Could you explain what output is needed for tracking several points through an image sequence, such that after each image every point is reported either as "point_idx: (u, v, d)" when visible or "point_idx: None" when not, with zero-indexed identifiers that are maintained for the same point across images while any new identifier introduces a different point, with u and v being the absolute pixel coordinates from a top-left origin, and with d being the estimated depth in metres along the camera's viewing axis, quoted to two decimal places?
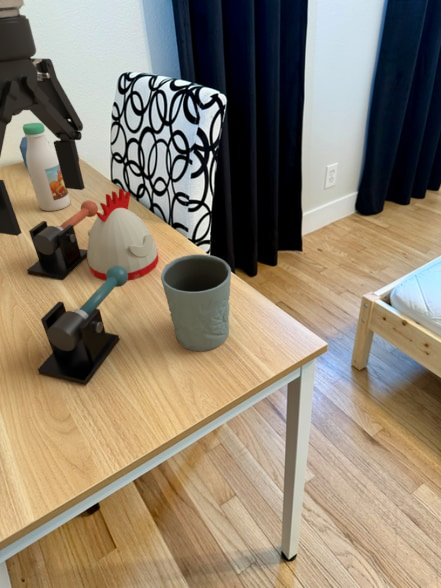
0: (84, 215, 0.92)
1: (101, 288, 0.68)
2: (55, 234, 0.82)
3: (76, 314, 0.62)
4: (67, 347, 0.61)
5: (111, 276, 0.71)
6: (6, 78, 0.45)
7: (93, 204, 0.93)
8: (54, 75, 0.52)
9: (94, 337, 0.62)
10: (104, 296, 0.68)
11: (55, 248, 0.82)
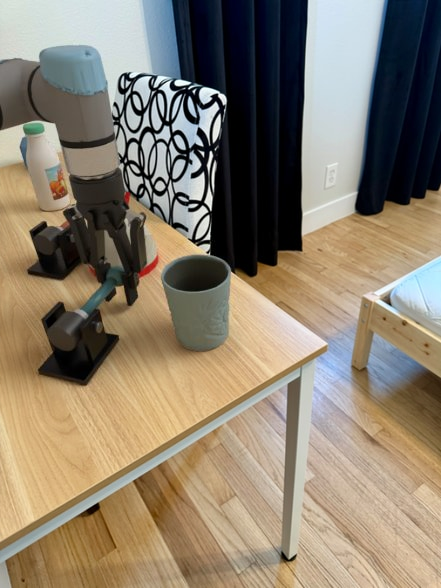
0: None
1: (101, 288, 0.68)
2: (55, 234, 0.82)
3: (76, 314, 0.62)
4: (67, 347, 0.61)
5: (111, 276, 0.71)
6: None
7: None
8: None
9: (94, 337, 0.62)
10: (104, 296, 0.68)
11: (55, 248, 0.82)
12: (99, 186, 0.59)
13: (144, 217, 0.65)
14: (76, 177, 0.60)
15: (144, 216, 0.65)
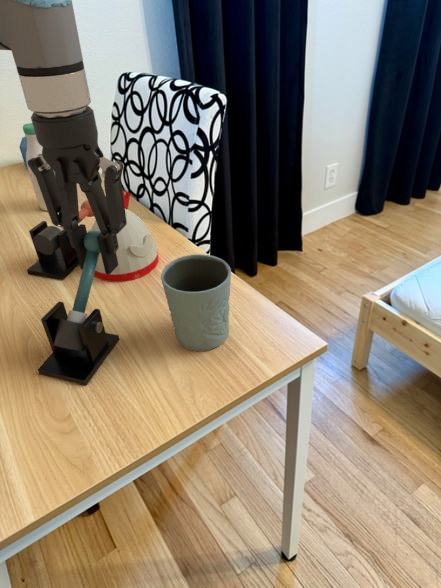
0: (84, 215, 0.92)
1: (85, 271, 0.63)
2: (55, 234, 0.82)
3: (72, 324, 0.61)
4: None
5: (90, 249, 0.64)
6: None
7: None
8: None
9: (94, 337, 0.62)
10: (91, 278, 0.64)
11: (55, 248, 0.82)
12: (65, 126, 0.51)
13: (121, 166, 0.56)
14: (38, 115, 0.51)
15: (121, 165, 0.56)
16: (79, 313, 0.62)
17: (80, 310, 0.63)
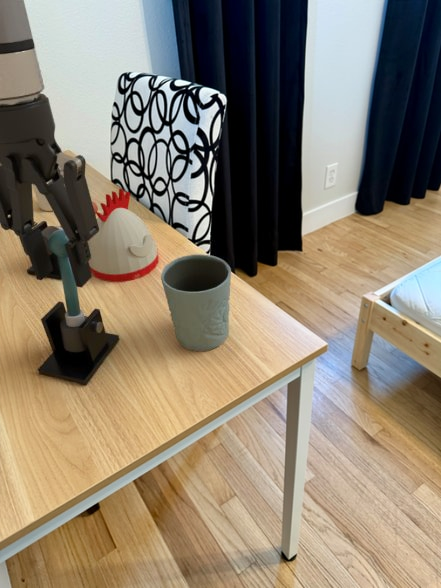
0: None
1: (64, 278, 0.59)
2: None
3: (73, 332, 0.61)
4: None
5: (60, 256, 0.57)
6: None
7: (93, 204, 0.93)
8: None
9: (94, 337, 0.62)
10: (74, 282, 0.60)
11: None
12: (11, 116, 0.43)
13: (82, 161, 0.48)
14: None
15: (82, 160, 0.48)
16: (75, 318, 0.62)
17: (75, 314, 0.62)
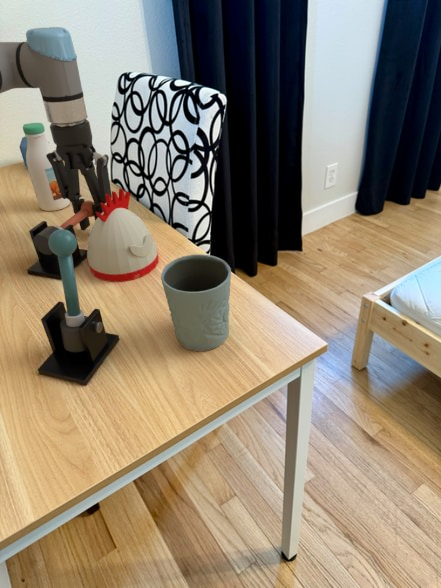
0: (84, 215, 0.92)
1: (64, 278, 0.59)
2: None
3: (73, 332, 0.61)
4: None
5: (60, 256, 0.57)
6: None
7: None
8: None
9: (94, 337, 0.62)
10: (74, 282, 0.60)
11: None
12: (71, 132, 0.81)
13: (107, 158, 0.86)
14: (55, 125, 0.81)
15: (107, 157, 0.86)
16: (75, 318, 0.62)
17: (75, 314, 0.62)
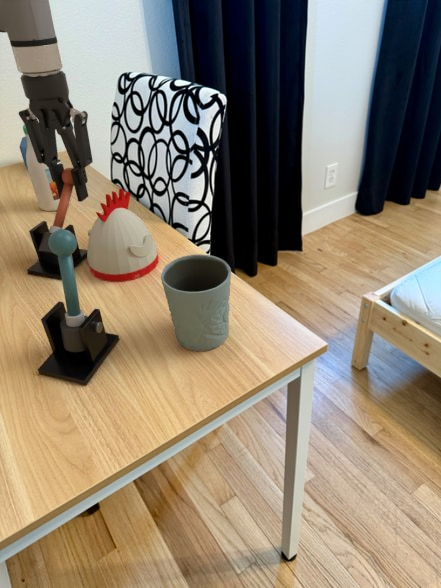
0: (70, 192, 0.86)
1: (64, 278, 0.59)
2: None
3: (73, 332, 0.61)
4: None
5: (60, 256, 0.57)
6: None
7: None
8: None
9: (94, 337, 0.62)
10: (74, 282, 0.60)
11: None
12: (44, 83, 0.72)
13: (85, 115, 0.77)
14: (25, 75, 0.72)
15: (85, 114, 0.77)
16: (75, 318, 0.62)
17: (75, 314, 0.62)
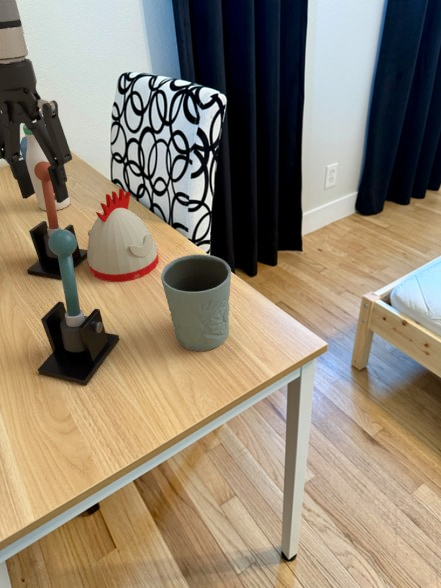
0: (51, 189, 0.80)
1: (64, 278, 0.59)
2: None
3: (73, 332, 0.61)
4: None
5: (60, 256, 0.57)
6: None
7: (46, 173, 0.78)
8: None
9: (94, 337, 0.62)
10: (74, 282, 0.60)
11: None
12: (6, 71, 0.65)
13: (55, 104, 0.69)
14: None
15: (55, 103, 0.69)
16: (75, 318, 0.62)
17: (75, 314, 0.62)
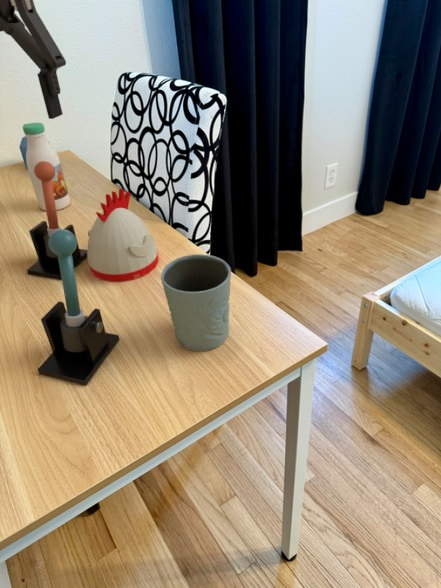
0: (51, 189, 0.80)
1: (64, 278, 0.59)
2: None
3: (73, 332, 0.61)
4: None
5: (60, 256, 0.57)
6: None
7: (46, 173, 0.78)
8: None
9: (94, 337, 0.62)
10: (74, 282, 0.60)
11: None
12: None
13: None
14: None
15: None
16: (75, 318, 0.62)
17: (75, 314, 0.62)
